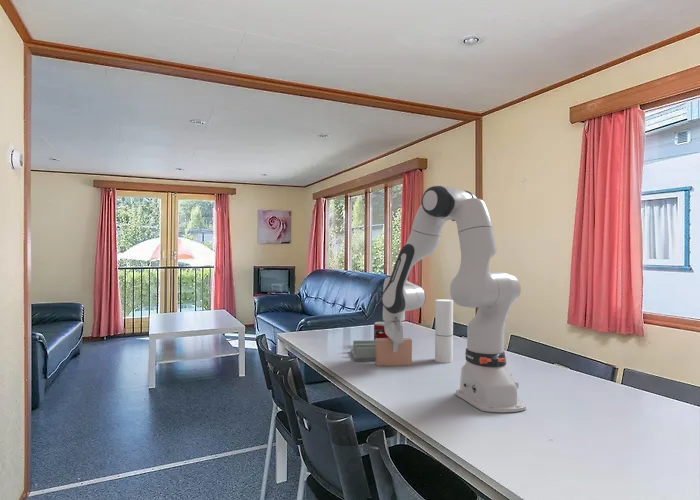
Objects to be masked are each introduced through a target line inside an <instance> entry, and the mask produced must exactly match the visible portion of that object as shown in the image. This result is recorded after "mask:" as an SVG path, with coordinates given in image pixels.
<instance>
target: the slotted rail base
mask: <svg viewBox="0 0 700 500" xmlns="http://www.w3.org/2000/svg"><path fill="white" fill-rule="evenodd" d="M352 344H353V345H352V347H353V348H350V354H351V356H352V359H353V361H354V362H355V363H357V362H358V363H361V362H366V363H367V362H375V344H376V340H374V339H373V340H371V339H369V340H367V339H364V340H363V339H362V340H360V339H359V340H356V339H355V340H352Z"/></svg>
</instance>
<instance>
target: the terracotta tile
mask: <svg viewBox="0 0 700 500" xmlns="http://www.w3.org/2000/svg"><path fill="white" fill-rule="evenodd" d="M392 347H393V341H392V340H391V339H390V338H376V344H375V361H374V363H375V365H376V367H382V366H384V367H385V366H387V367H388V366H390V367H391V366H393V367H394V366H412V365H413V339H412V338H410V337H403V343H402V344H398V351H397V352H393V351H392Z"/></svg>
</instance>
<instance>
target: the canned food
mask: <svg viewBox="0 0 700 500" xmlns="http://www.w3.org/2000/svg"><path fill="white" fill-rule="evenodd" d="M376 338H389V337H388V336H387V335H386V334H385V329H384V321H375V322H374V323H373V340H376Z"/></svg>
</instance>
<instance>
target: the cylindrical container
mask: <svg viewBox="0 0 700 500" xmlns="http://www.w3.org/2000/svg"><path fill="white" fill-rule="evenodd" d="M434 312H435V317H434V318H435V322H434V330H435V331H434V333H435V334H434V361H435V362H437V363H443V364H449V363H452V362H453V356H454V355H453V352H454V349H453V346H454V345H453V340H454V301H453V300H452V299H448V298H447V299H444V298H443V299H441V298H440V299H435V311H434Z"/></svg>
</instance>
